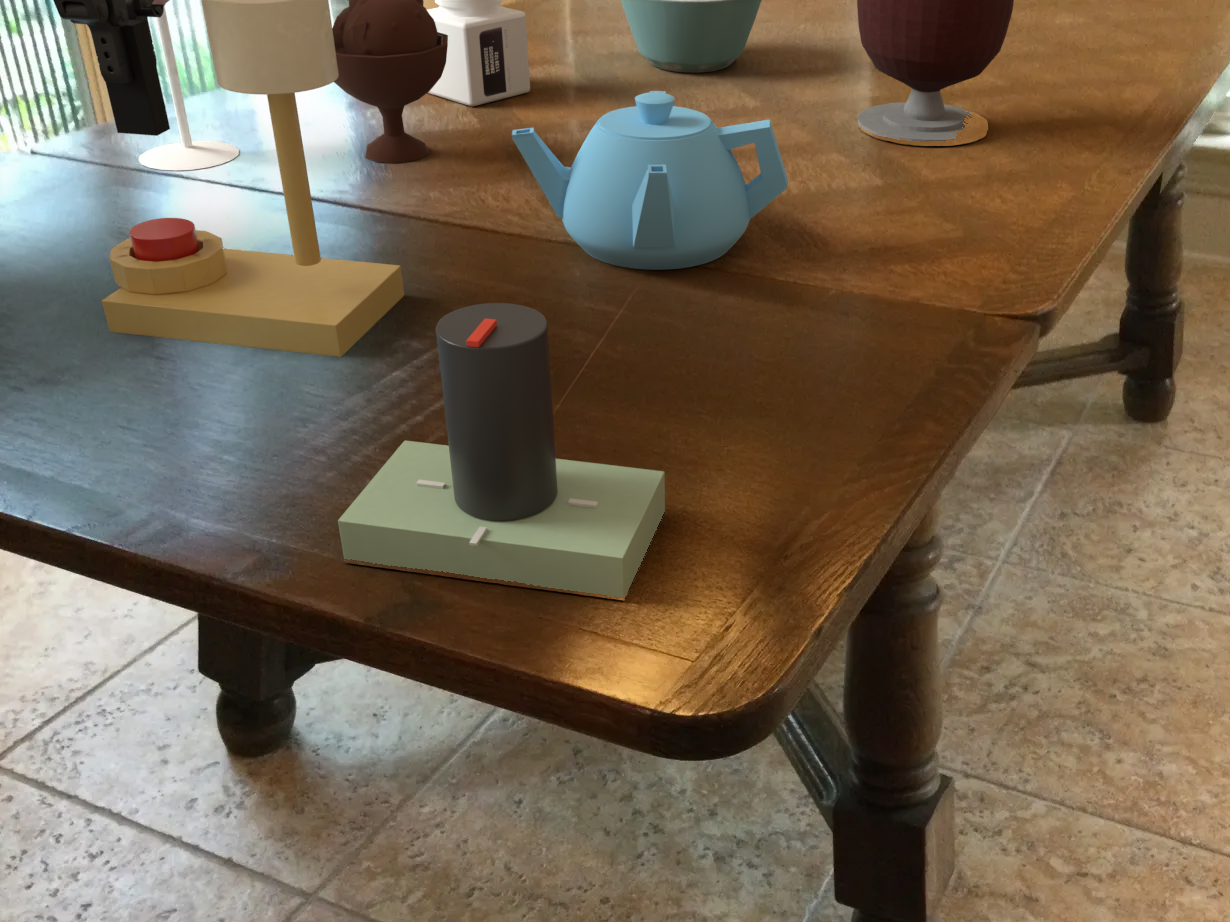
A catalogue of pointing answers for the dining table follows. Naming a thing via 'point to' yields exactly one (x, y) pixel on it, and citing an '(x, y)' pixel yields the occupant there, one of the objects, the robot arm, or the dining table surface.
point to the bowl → (691, 32)
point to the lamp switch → (164, 239)
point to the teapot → (657, 184)
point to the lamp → (278, 83)
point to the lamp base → (250, 298)
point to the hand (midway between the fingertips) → (143, 130)
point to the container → (481, 51)
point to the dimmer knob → (498, 409)
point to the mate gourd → (928, 59)
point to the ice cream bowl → (389, 66)
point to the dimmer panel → (508, 525)
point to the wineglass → (182, 124)
